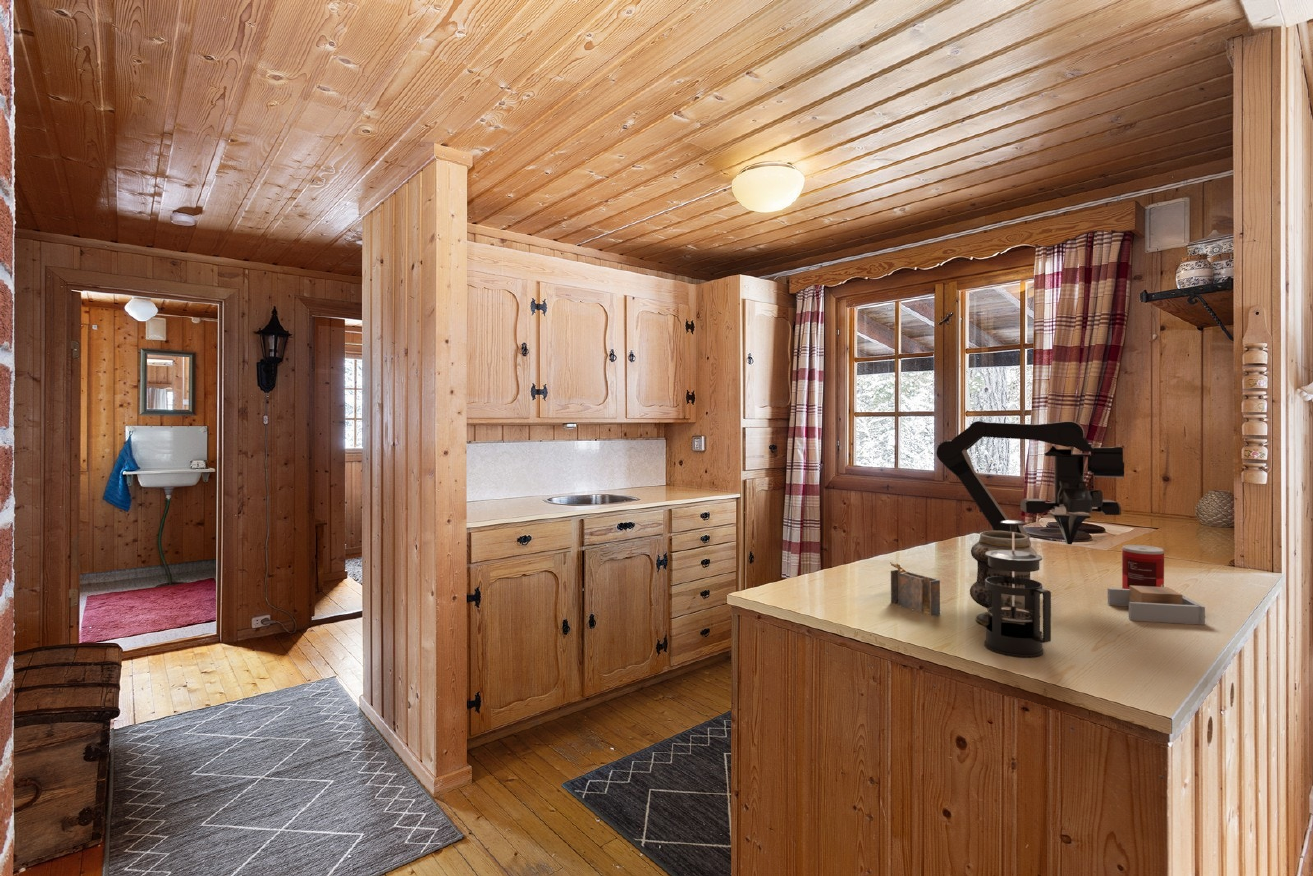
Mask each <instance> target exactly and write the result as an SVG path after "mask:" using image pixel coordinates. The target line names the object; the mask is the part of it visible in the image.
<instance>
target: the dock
mask: <svg viewBox="0 0 1313 876" xmlns="http://www.w3.org/2000/svg"><path fill="white" fill-rule="evenodd" d="M1129 599H1130V589H1122V588H1116V587H1115V588H1114V587H1108V588H1107V605H1108V604H1109V605H1108V606H1120V607H1128V620H1129V621H1132V622H1134V621H1138V622H1150V623H1151V622H1152V623H1153V622H1154V623H1168V624H1169V623H1170V624H1183V625H1184V624H1185V625H1186V624H1187V625H1199V626H1201V625H1203V626H1206V606H1204V605H1202V604H1200V603H1198V602H1196V601H1194V600H1192V599H1191V598H1189V597H1186V596H1185V595H1183V594H1182V605H1179V604H1161V603H1142V602H1129Z"/></svg>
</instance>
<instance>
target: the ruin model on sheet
mask: <svg viewBox="0 0 1313 876" xmlns="http://www.w3.org/2000/svg"><path fill="white" fill-rule="evenodd" d="M889 564H891V565H890V566H892V567H894V568H895V569H893V570H892V569H891V570H890V603H897V604H898V606H900V605H901V607H902V608H906V609H910V610H912V609H913V611H915V612H919V613H921V614H924V615H927V614H928V615H927V616H929V617H932V616H938V615H941V580H940V579H936V578H932V577H931V576H925V575H923V574H919V573H918V574H917V573H914V572H910V571H907V570H905V569H904V568H903V567H902V566H901V564H898V563H893V562H889Z"/></svg>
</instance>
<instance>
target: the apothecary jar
mask: <svg viewBox="0 0 1313 876" xmlns="http://www.w3.org/2000/svg"><path fill="white" fill-rule="evenodd" d="M993 550H1012V532H1008V531H993V530H987V531H982V532H980V533H979V540H978V541H977V542H976V543H975V544H973V545H972V546H971V549H970V554H971V557H972V558H973V559H974V560H975V561H977V573H976V581H975V582H974V583H972V585H971V586H970V588H969V595H970V598H972V600H973V601H974V602H975V603H976V604H978V605H979V606H980V607H983V608H985V609H988V589H987V588H986V587H985V579H986V578H988V577H993V576H1012V571H1005V570H999V569H995V568H992V567H990V566H989V565H988V557H987V556H986V555H985V553H986V552H988V551H993ZM1014 551H1023V552H1030V553H1034V554H1038V552H1037V551H1036V550H1035V548H1034V547H1032V545H1031V546H1029V542H1028V536H1026V535H1024V534H1021V533H1016V532H1014ZM1014 577H1021V578H1027V579H1031V572H1014ZM996 585H999V586H1004V587H1011V588H1012V584H1010V583H996ZM1014 585H1015V588H1025V585H1020V584H1014ZM1002 606H1009V607H1011V606H1012V595H1006V594H1002ZM1015 607H1018V608H1024V609H1025V596H1015ZM975 621H976V622H977V623H978V624H980V625H983V626H984V627H986V625H987V624H988V611H986V612H984V613H980V614H978V615H976V617H975ZM1002 622H1007V621H1002ZM1009 623H1015V622H1009ZM1017 624H1023V625H1025V623H1017Z"/></svg>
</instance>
